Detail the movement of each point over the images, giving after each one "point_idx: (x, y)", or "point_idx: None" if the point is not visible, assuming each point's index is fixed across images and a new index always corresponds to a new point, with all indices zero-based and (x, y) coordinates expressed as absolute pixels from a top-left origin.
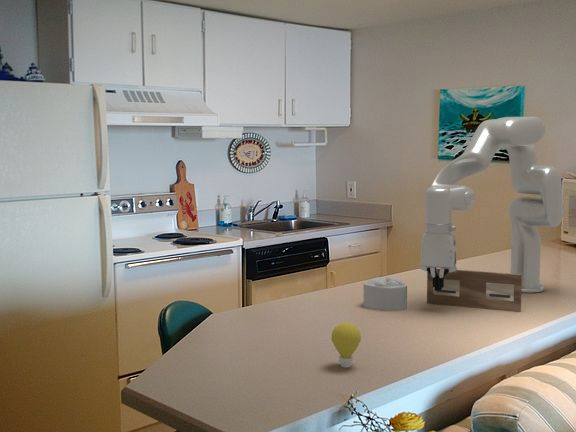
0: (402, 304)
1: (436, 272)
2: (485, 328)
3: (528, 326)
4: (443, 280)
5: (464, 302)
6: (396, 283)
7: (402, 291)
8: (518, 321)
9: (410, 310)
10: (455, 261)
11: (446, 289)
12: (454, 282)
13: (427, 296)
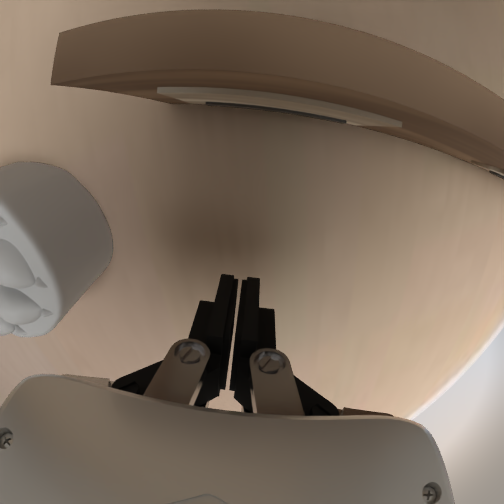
0: (96, 278)
1: (203, 379)
2: (385, 389)
3: (481, 338)
4: (273, 344)
5: (372, 128)
6: (26, 323)
7: (68, 310)
8: (483, 304)
9: (134, 265)
10: (434, 443)
11: (279, 107)
12: (354, 117)
13: (162, 100)
